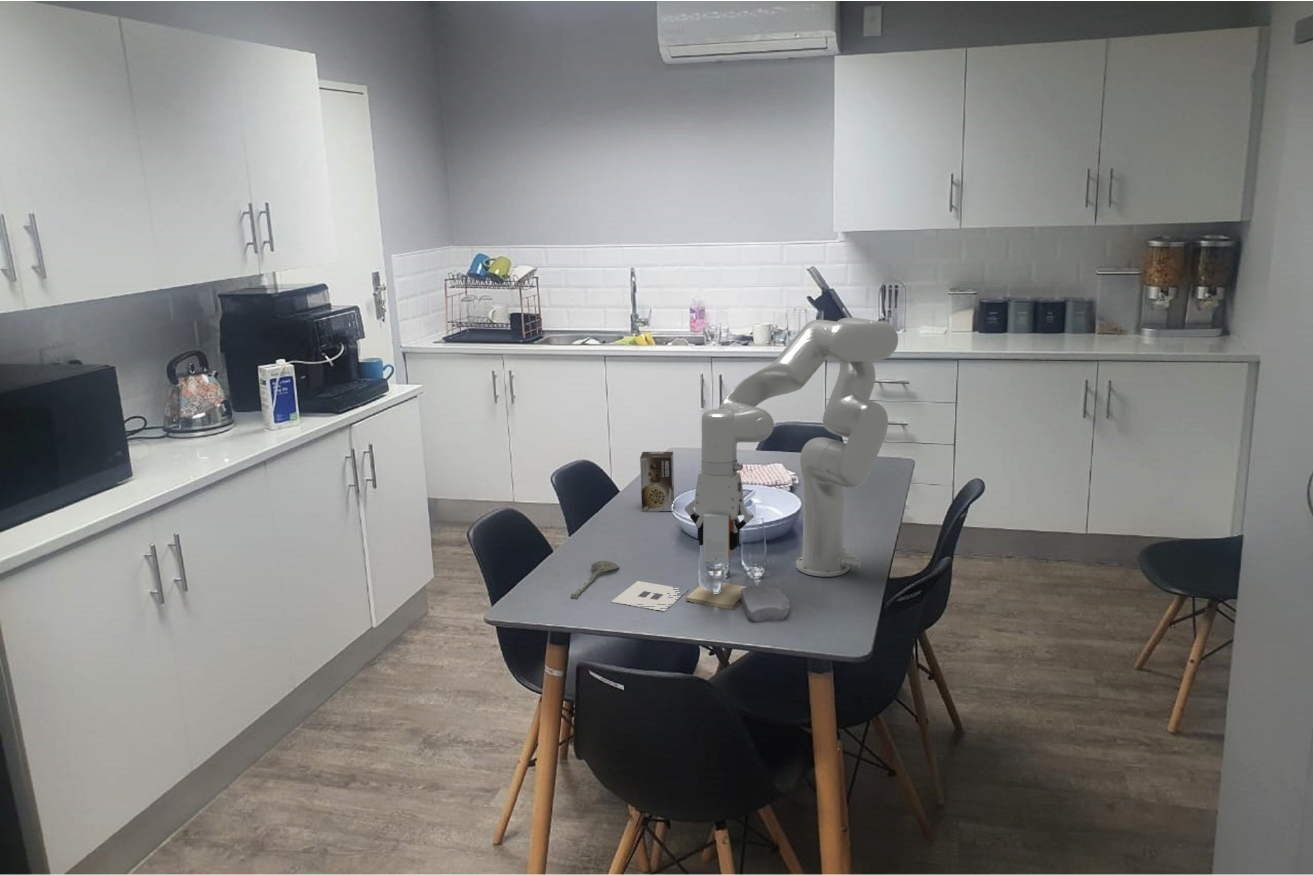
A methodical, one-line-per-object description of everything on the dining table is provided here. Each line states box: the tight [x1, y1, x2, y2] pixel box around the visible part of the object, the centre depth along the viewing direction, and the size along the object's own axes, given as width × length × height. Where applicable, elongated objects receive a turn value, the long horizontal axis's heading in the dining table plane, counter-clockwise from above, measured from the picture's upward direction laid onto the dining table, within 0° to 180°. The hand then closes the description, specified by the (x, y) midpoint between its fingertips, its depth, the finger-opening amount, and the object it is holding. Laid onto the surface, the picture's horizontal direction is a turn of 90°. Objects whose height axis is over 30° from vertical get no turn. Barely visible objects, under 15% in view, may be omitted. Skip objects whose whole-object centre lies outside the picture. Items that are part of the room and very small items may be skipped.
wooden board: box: [685, 582, 746, 611], centre depth 219 cm, size 11×11×1 cm
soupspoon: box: [570, 560, 620, 600], centre depth 229 cm, size 22×3×7 cm
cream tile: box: [610, 580, 682, 612], centre depth 220 cm, size 13×13×1 cm
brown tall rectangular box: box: [639, 451, 675, 512], centre depth 280 cm, size 9×6×16 cm
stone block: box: [740, 584, 791, 623], centre depth 211 cm, size 12×5×10 cm
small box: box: [702, 513, 733, 563], centre depth 215 cm, size 8×6×10 cm
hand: (718, 545), depth 216 cm, fingers closed on small box, 6 cm apart
